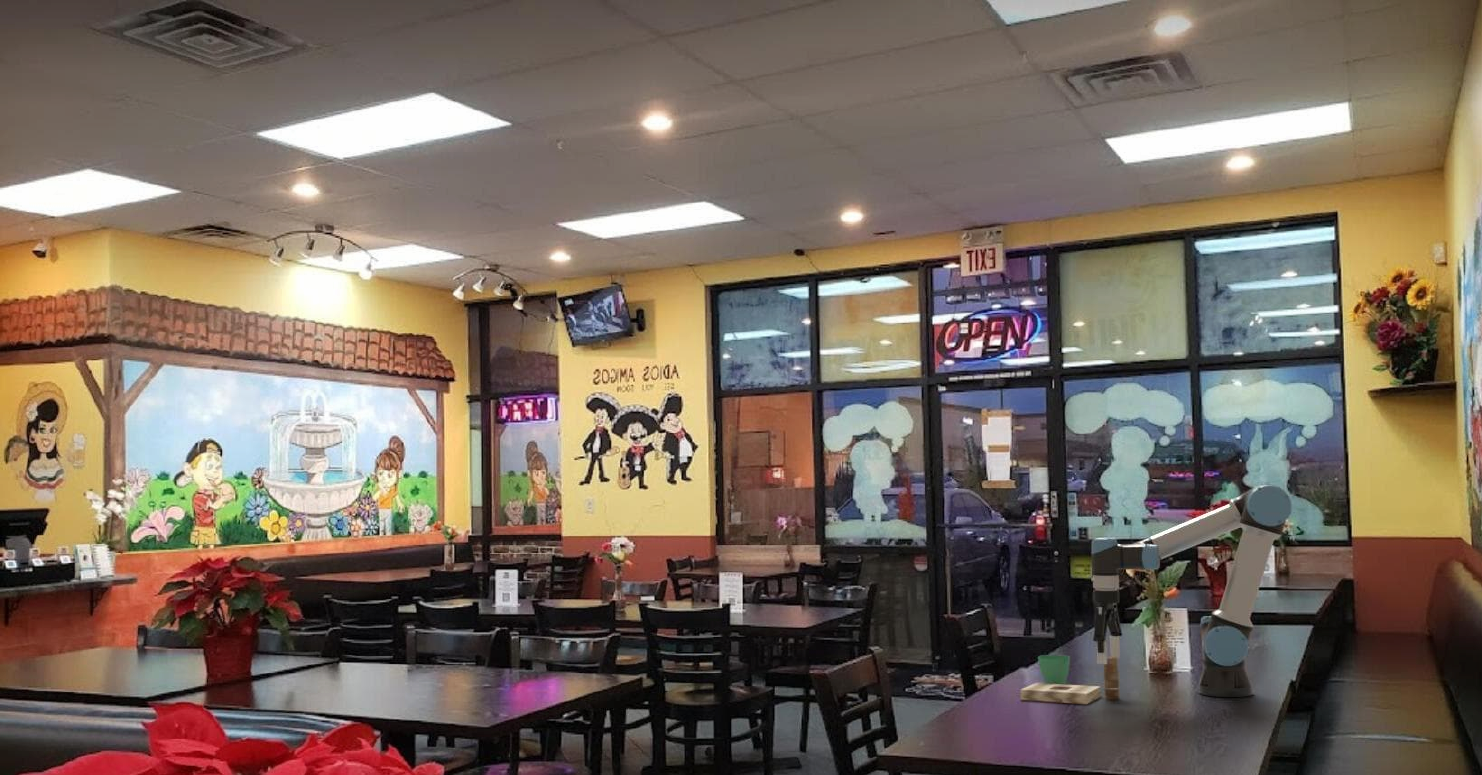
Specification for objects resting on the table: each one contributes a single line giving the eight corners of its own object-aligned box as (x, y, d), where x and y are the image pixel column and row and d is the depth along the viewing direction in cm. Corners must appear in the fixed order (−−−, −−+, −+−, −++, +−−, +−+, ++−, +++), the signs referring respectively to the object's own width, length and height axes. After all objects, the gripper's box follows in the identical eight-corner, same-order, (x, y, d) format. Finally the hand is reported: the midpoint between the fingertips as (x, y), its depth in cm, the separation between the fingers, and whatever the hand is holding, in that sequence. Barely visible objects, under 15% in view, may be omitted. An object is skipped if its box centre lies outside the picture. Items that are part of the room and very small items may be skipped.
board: (1101, 696, 362) (1100, 686, 363) (1087, 704, 351) (1086, 693, 351) (1036, 692, 373) (1036, 682, 374) (1021, 699, 362) (1020, 689, 362)
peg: (1121, 697, 359) (1119, 657, 360) (1117, 700, 356) (1115, 659, 357) (1107, 696, 362) (1105, 656, 363) (1103, 699, 358) (1101, 658, 359)
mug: (1066, 692, 372) (1065, 659, 373) (1035, 690, 377) (1034, 658, 378) (1079, 684, 385) (1077, 653, 386) (1049, 683, 390) (1047, 652, 391)
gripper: (1105, 585, 374) (1108, 654, 372) (1080, 592, 353) (1083, 665, 351) (1129, 586, 370) (1132, 656, 368) (1106, 593, 349) (1109, 667, 347)
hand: (1108, 660), depth 360 cm, fingers open, 13 cm apart
